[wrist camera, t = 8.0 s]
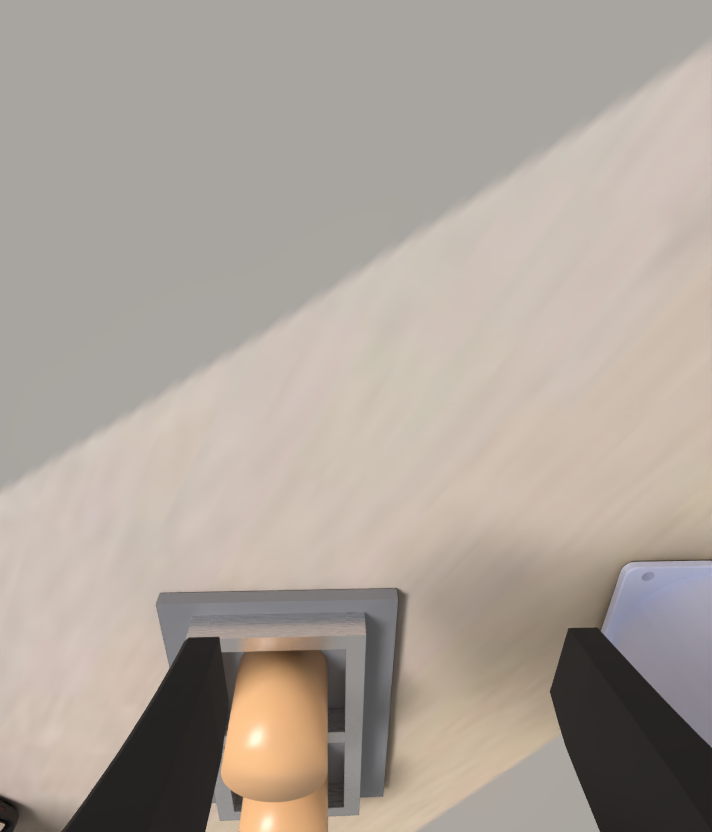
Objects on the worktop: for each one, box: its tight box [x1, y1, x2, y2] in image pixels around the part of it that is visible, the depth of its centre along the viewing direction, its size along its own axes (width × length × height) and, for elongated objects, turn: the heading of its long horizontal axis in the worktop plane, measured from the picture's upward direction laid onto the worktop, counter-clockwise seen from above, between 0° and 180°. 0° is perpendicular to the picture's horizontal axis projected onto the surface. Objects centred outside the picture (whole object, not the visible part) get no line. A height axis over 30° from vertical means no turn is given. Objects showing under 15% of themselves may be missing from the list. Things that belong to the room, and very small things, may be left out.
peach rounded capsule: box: [221, 650, 328, 802], centre depth 22 cm, size 4×4×4 cm
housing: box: [156, 588, 398, 832], centre depth 24 cm, size 10×15×5 cm, turn 179°
